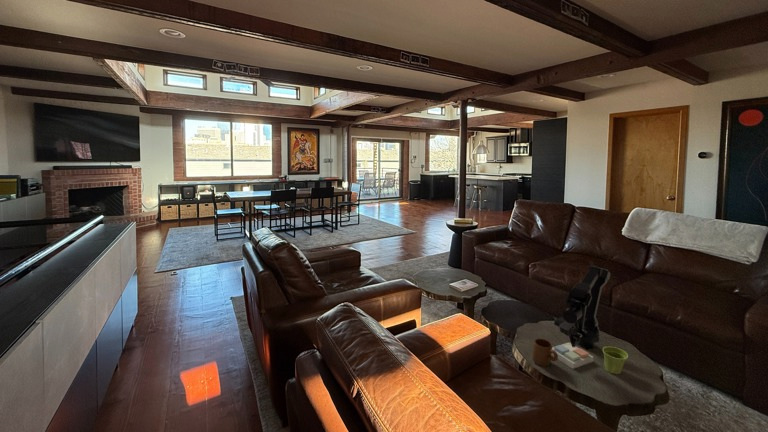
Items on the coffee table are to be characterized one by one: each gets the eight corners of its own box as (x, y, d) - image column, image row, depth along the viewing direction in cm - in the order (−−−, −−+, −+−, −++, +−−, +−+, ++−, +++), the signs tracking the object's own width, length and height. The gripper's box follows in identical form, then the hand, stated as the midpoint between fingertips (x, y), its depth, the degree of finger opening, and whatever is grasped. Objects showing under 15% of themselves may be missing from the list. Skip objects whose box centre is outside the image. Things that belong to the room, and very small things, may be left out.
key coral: (579, 351, 170) (580, 348, 170) (588, 357, 166) (588, 353, 166) (573, 354, 168) (573, 350, 168) (581, 359, 164) (582, 355, 164)
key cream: (569, 348, 175) (569, 344, 175) (577, 352, 171) (577, 349, 171) (562, 350, 174) (562, 346, 173) (570, 355, 170) (570, 351, 169)
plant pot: (617, 379, 154) (620, 361, 152) (595, 367, 162) (598, 349, 160) (629, 373, 158) (632, 355, 156) (608, 361, 166) (610, 344, 164)
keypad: (568, 347, 177) (569, 342, 177) (592, 362, 166) (593, 356, 165) (548, 353, 172) (549, 348, 172) (572, 369, 161) (573, 363, 160)
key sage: (571, 354, 168) (571, 350, 167) (579, 360, 164) (580, 356, 163) (564, 357, 166) (564, 353, 166) (572, 362, 162) (573, 358, 162)
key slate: (560, 348, 173) (561, 344, 172) (568, 353, 169) (569, 349, 168) (554, 350, 171) (554, 346, 171) (561, 355, 167) (562, 351, 167)
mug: (562, 370, 160) (564, 350, 158) (549, 374, 157) (551, 354, 155) (541, 355, 171) (543, 337, 169) (528, 358, 168) (530, 340, 166)
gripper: (547, 309, 165) (543, 340, 169) (583, 329, 149) (579, 362, 152) (564, 305, 170) (560, 335, 173) (602, 323, 153) (597, 356, 157)
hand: (573, 346), depth 164 cm, fingers closed
